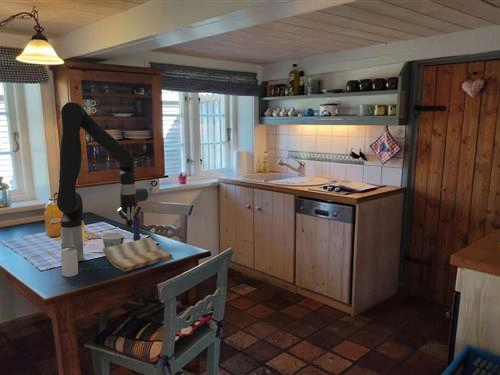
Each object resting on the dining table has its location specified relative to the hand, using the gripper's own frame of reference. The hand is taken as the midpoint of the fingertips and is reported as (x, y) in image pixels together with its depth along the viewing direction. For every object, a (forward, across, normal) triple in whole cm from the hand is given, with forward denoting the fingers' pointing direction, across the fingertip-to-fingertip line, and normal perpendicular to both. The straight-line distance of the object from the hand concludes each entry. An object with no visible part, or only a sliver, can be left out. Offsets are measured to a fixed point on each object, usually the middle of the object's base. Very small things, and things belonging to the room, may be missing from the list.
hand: (129, 226), depth 203 cm
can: (+15, -32, -4) cm, 35 cm away
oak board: (+15, 0, -12) cm, 19 cm away
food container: (+15, 0, +18) cm, 23 cm away
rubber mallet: (+15, +14, +18) cm, 27 cm away
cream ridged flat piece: (+13, 0, -1) cm, 13 cm away
